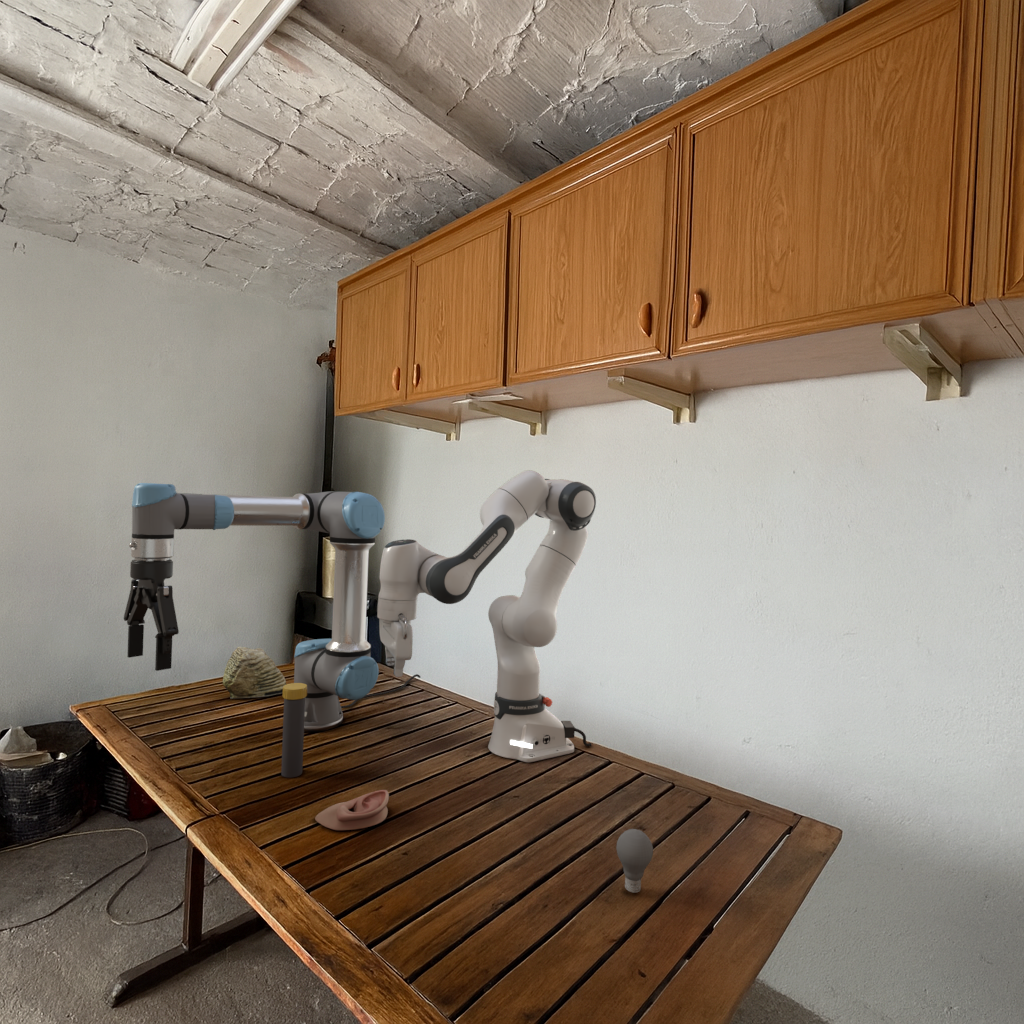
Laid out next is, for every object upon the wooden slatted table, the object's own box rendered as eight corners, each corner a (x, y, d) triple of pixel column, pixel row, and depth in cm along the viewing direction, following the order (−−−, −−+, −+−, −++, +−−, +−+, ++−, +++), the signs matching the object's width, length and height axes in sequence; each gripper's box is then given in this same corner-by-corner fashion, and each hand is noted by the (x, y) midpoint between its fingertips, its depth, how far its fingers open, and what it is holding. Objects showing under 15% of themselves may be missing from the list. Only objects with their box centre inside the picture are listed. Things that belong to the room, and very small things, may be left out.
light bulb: (610, 879, 108) (613, 822, 108) (644, 879, 109) (647, 822, 109) (619, 902, 102) (622, 840, 102) (655, 901, 103) (658, 840, 103)
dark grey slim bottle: (278, 777, 142) (282, 690, 141) (284, 769, 146) (287, 684, 146) (299, 777, 142) (302, 691, 142) (304, 769, 147) (307, 685, 146)
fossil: (218, 695, 195) (220, 647, 195) (278, 685, 208) (279, 640, 207) (228, 703, 189) (230, 653, 188) (289, 692, 201) (290, 645, 201)
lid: (279, 699, 141) (279, 689, 141) (286, 692, 146) (286, 682, 146) (303, 700, 142) (304, 689, 141) (309, 692, 147) (309, 683, 147)
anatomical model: (307, 805, 121) (336, 780, 133) (306, 826, 121) (335, 798, 133) (372, 815, 119) (395, 788, 130) (371, 836, 119) (394, 807, 130)
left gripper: (108, 554, 134) (104, 654, 134) (159, 565, 118) (155, 678, 119) (146, 552, 140) (143, 648, 140) (199, 563, 124) (195, 671, 124)
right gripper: (421, 618, 136) (417, 682, 137) (402, 602, 156) (398, 658, 156) (392, 619, 134) (388, 684, 134) (376, 603, 153) (373, 659, 153)
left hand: (148, 662), depth 129 cm, fingers open, 13 cm apart
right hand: (393, 670), depth 145 cm, fingers open, 8 cm apart
